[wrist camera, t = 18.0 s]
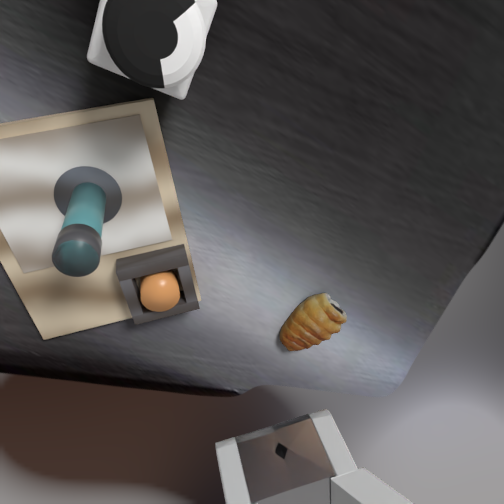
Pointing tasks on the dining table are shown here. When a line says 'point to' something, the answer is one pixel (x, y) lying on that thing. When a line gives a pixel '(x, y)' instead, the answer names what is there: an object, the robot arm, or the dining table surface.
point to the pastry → (312, 322)
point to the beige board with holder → (115, 217)
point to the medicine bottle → (152, 41)
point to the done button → (159, 290)
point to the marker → (81, 232)
